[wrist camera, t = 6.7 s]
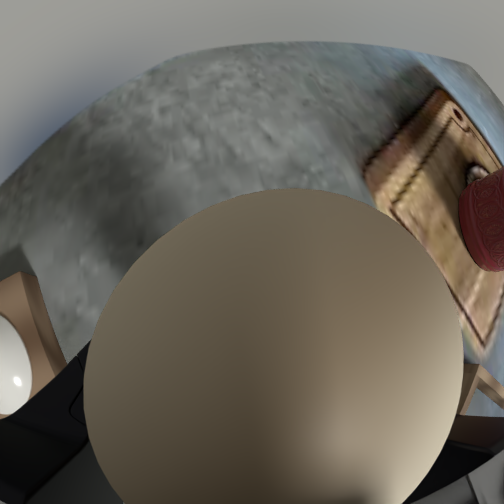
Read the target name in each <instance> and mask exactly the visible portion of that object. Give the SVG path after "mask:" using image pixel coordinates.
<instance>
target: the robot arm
mask: <svg viewBox="0 0 504 504" xmlns="http://www.w3.org/2000/svg"><path fill="white" fill-rule="evenodd" d="M91 340H92V339H91ZM91 340H90V341H89V342H88V343H87V344H86V345H85V346H84V348H83V349H82V350H81V351H80V352H79V353H78V354H77V356H78V357H77V356H75V357H74V358H73V359H72V360H71V361H70V362H69V363H68V364H67V365H66V366H65V367H64V368H63V370H62V371H61V372H60V373H59V374H58V375H57V376H55V377H54V378H53V379H52V380H51V381H50V382H49V383H48V384H47V385H46V386H44V387H43V388H42V389H41V390H40V391H39V392H37V393H36V394H35V395H34V396H33V397H32V398H31V399H29V400H28V401H27V402H26V403H25V404H24V405H23V406H21V407H20V408H19V409H18V410H17V411H15V412H14V413H12V414H11V415H9V416H7V417H5V418H2V419H0V504H123V500H122V499H121V498H120V497H119V495H118V494H117V493H116V492H115V490H114V489H113V488H112V486H111V485H110V483H109V481H108V480H107V478H106V476H105V474H104V473H103V471H102V469H101V467H100V465H99V463H98V461H97V458H96V456H95V453H94V450H93V447H92V445H91V442H90V439H89V435H88V430H87V424H86V419H85V413H84V373H85V367H86V361H87V355H88V350H89V346H90V343H91ZM402 504H504V417H484V416H467V415H460V414H456V415H455V418H454V421H453V424H452V427H451V429H450V432H449V435H448V437H447V439H446V441H445V443H444V446H443V448H442V450H441V452H440V454H439V455H438V457H437V459H436V460H435V462H434V464H433V465H432V467H431V469H430V470H429V472H428V473H427V474H426V476H425V477H424V478H423V480H422V481H421V482H420V484H419V485H418V486H417V488H416V489H415V490H414V491H413V492H412V493H411V494H410V495H409V496H408V497H407V498H406V500H405V501H404V502H403V503H402Z"/></svg>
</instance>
